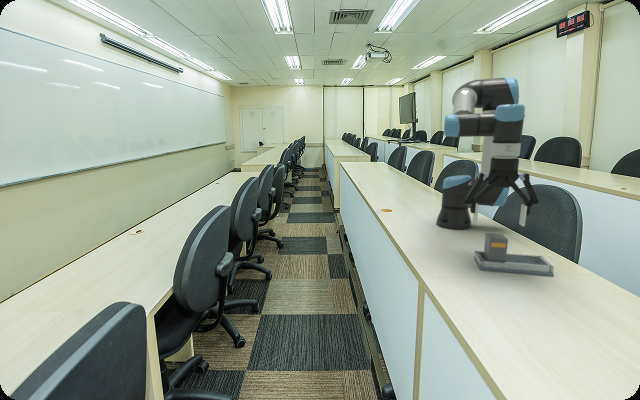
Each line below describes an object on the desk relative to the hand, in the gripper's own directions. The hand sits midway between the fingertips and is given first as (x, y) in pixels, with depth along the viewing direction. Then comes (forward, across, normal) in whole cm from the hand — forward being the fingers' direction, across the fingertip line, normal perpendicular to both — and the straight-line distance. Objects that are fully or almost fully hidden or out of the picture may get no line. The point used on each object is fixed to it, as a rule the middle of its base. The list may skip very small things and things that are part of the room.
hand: (497, 224), depth 102 cm
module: (+13, 0, -1) cm, 13 cm away
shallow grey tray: (+14, +5, -1) cm, 15 cm away
